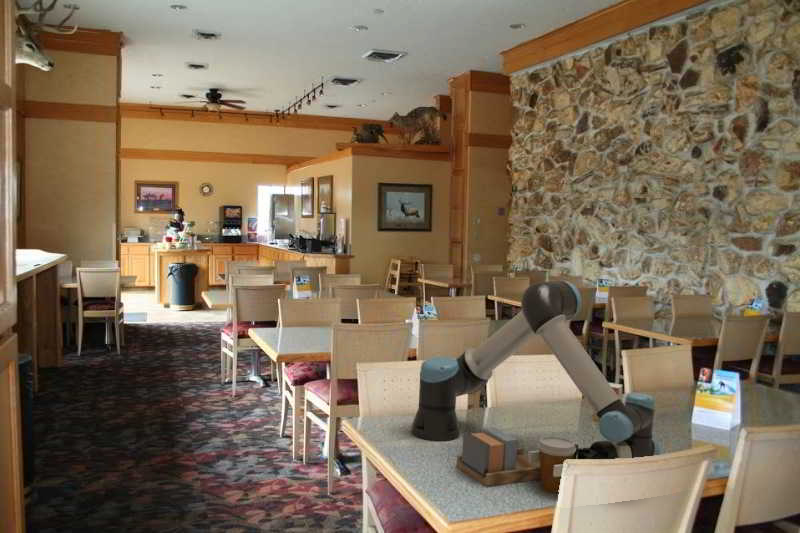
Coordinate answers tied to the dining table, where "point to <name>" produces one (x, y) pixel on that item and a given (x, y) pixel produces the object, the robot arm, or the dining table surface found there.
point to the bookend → (475, 454)
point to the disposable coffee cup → (553, 459)
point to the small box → (618, 391)
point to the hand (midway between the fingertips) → (541, 463)
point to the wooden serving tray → (520, 474)
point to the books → (499, 449)
